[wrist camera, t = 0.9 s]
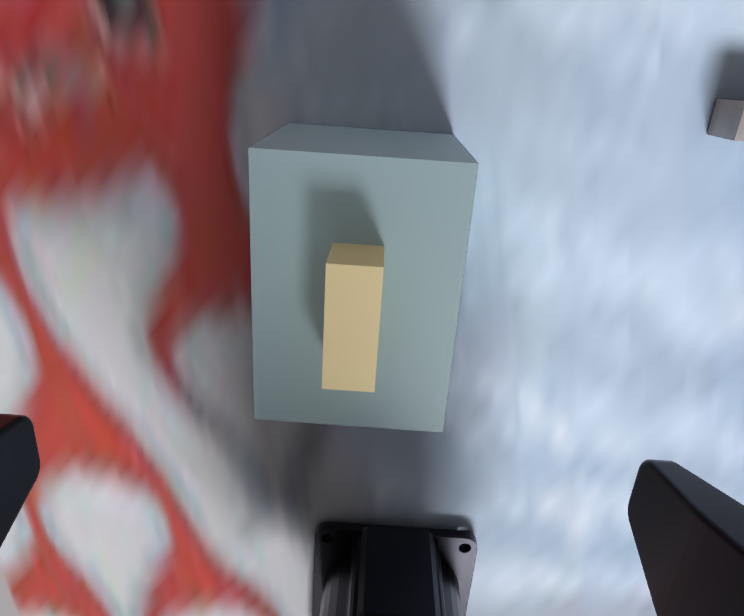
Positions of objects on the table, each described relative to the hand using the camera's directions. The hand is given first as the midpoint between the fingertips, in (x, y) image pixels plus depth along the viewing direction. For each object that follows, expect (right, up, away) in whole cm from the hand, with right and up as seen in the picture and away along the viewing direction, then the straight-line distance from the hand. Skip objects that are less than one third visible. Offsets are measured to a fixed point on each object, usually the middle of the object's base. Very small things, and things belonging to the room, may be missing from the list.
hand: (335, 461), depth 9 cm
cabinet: (0, +5, +10) cm, 11 cm away
